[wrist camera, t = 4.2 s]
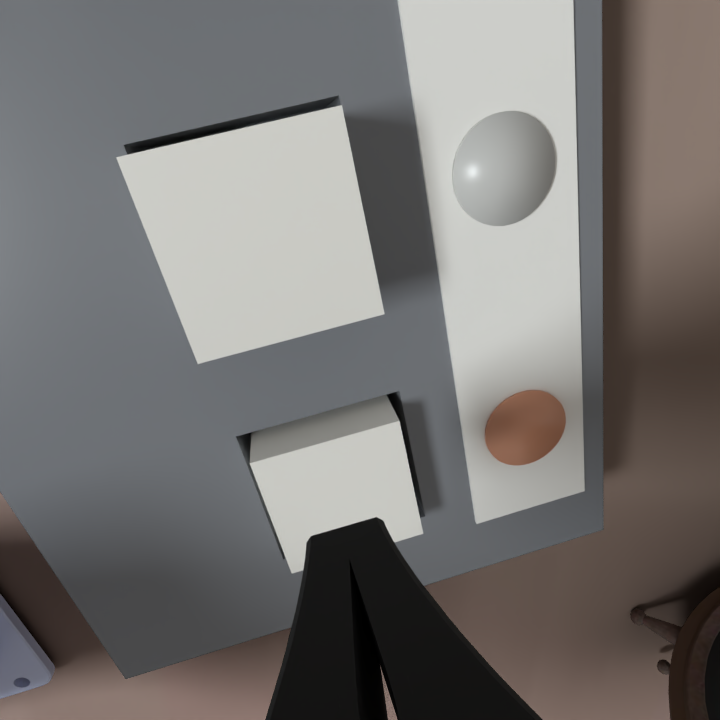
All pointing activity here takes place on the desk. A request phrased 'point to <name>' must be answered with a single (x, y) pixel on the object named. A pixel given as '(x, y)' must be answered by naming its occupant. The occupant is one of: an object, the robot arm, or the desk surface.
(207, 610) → the button panel
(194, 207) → the button
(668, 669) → the alarm clock
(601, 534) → the desk surface
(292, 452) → the button
